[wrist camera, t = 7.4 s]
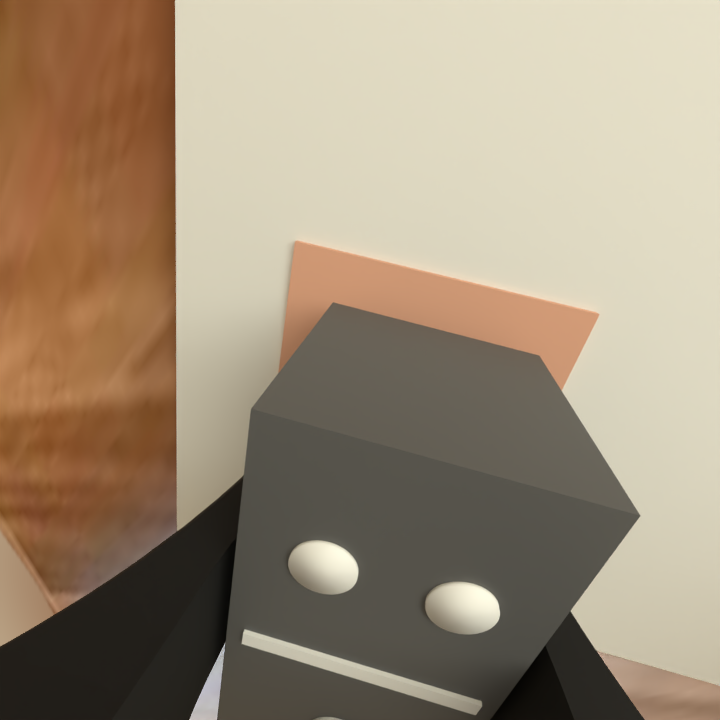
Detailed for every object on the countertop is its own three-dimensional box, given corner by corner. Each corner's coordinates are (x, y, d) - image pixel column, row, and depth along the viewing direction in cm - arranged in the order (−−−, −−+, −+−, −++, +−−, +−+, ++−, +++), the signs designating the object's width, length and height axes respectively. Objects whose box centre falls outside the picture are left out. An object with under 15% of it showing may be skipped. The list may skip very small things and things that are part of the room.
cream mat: (1460, 113, 6) (1587, 105, 6) (762, 681, 14) (780, 707, 13) (193, -130, 7) (169, -161, 7) (185, 517, 15) (174, 534, 14)
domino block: (422, 608, 12) (420, 820, 8) (282, 566, 13) (212, 753, 9) (539, 355, 8) (642, 520, 4) (332, 302, 9) (248, 412, 5)
